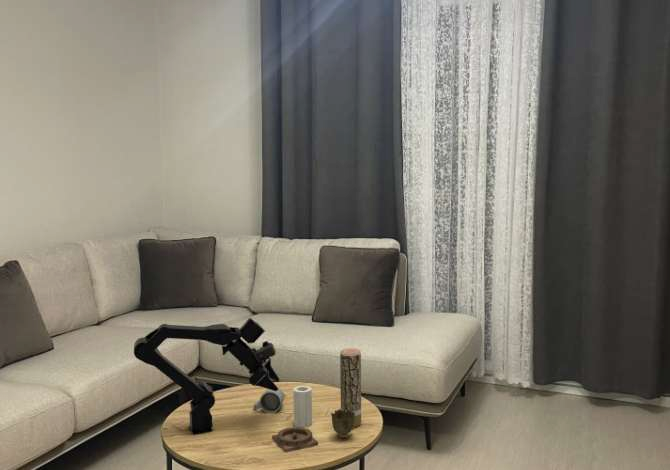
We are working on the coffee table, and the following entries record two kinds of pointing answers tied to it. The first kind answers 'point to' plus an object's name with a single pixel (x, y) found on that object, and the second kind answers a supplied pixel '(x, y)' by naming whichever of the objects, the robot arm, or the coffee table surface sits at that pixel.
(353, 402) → the paper tube
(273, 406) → the ceramic mug
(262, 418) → the coffee table surface
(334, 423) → the cup
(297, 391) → the tube
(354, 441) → the coffee table surface
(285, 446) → the holder
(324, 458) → the coffee table surface
